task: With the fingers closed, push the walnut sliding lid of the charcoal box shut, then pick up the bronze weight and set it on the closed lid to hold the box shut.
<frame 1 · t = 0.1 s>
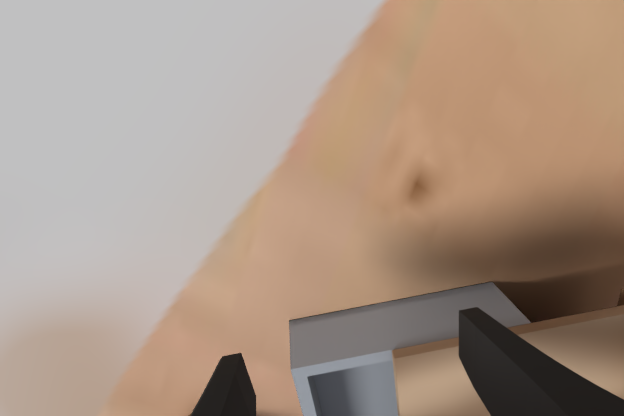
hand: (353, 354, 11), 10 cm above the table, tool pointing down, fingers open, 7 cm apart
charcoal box: (397, 374, 26), on the table
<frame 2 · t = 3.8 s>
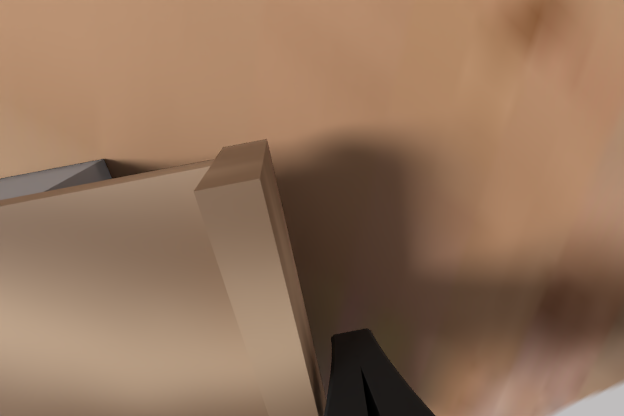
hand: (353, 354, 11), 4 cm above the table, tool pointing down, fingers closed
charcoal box: (10, 345, 15), on the table
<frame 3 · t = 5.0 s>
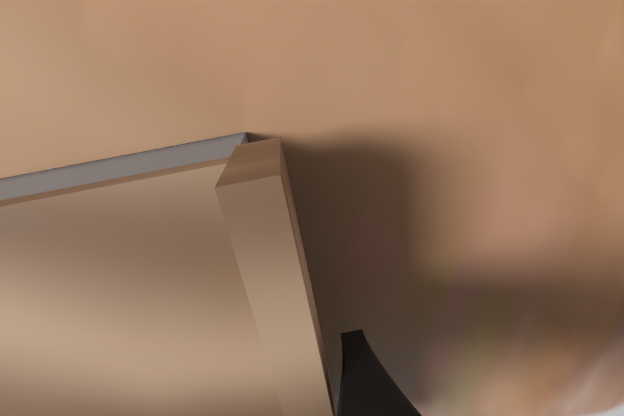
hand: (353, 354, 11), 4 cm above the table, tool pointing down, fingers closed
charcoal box: (126, 322, 15), on the table
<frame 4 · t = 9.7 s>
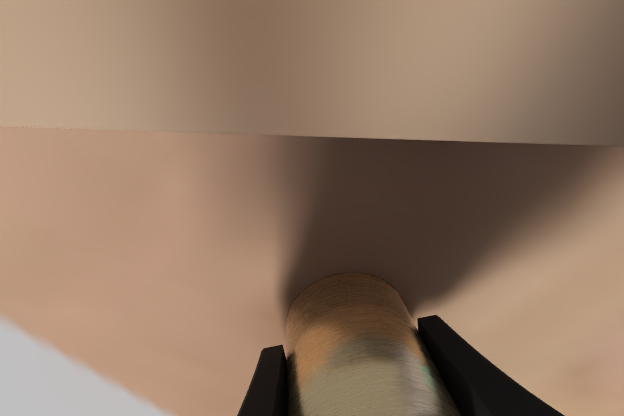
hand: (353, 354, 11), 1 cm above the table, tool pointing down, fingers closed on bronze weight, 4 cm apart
bronze weight: (346, 323, 13), on the table, touching gripper
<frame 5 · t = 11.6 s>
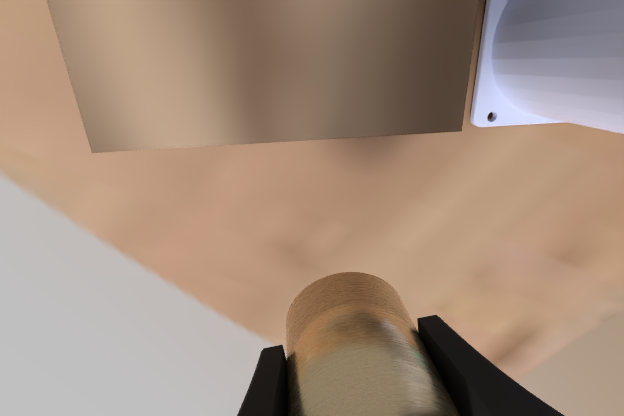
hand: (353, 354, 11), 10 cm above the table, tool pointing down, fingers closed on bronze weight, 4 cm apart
bronze weight: (345, 322, 13), point 8 cm above the table, touching gripper
when the fingers open (8 cm above the table, at t = 13.4 s): bronze weight drops 1 cm, resting on box lid.
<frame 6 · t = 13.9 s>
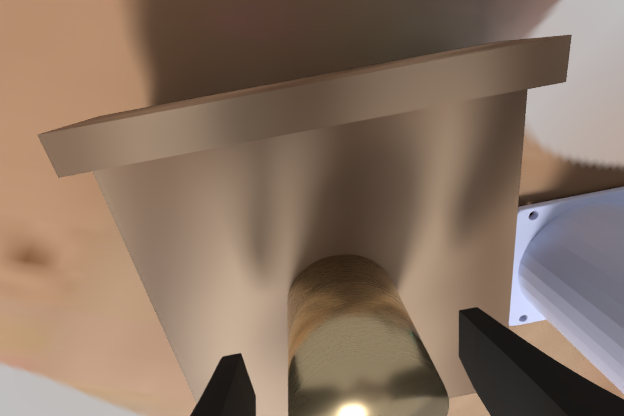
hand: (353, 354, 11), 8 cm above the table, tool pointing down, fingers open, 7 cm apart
box lid: (337, 285, 14), point 5 cm above the table, slide at 0.0 cm, touching bronze weight
bronze weight: (341, 301, 14), point 5 cm above the table, touching box lid
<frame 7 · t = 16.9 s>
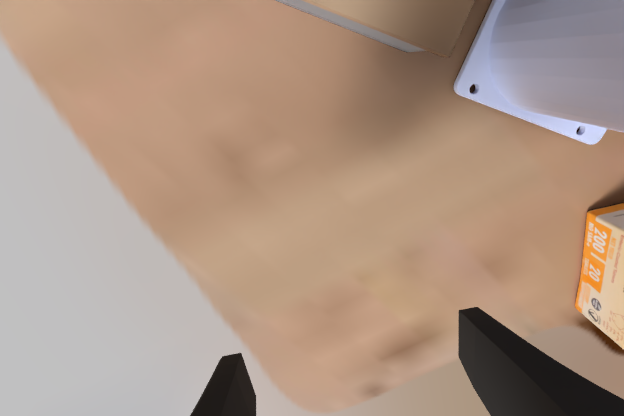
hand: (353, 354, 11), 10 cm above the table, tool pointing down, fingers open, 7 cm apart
supplement box: (606, 253, 24), on the table
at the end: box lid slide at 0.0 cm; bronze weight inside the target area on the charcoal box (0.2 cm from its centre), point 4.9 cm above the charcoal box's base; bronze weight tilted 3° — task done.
